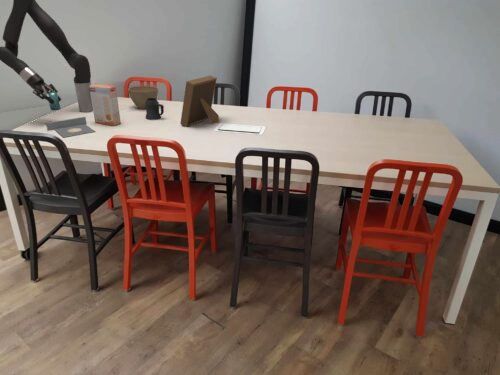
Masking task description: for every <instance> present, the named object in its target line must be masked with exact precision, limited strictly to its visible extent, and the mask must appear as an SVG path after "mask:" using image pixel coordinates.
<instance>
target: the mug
mask: <svg viewBox="0 0 500 375" xmlns="http://www.w3.org/2000/svg"><path fill="white" fill-rule="evenodd" d="M145 105H146V109H145V110H146V114H145V119H146V120H148V121H156V120H160V119H162V115H164V112H165V111H164V107H165V106H164V104H161V103H160V102H159V101H158V99H157V98H147V100H146V102H145Z"/></svg>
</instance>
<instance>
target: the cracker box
mask: <svg viewBox="0 0 500 375" xmlns="http://www.w3.org/2000/svg"><path fill="white" fill-rule="evenodd" d="M89 89H90V95H91V101H92V107H93V111H92V112H93V117H94V118H93V120H94V123H95V124H101V125H106V126H111V127H112V126H113V127H115V126H118V125H120V124H122V122H121V121H122V120H121V115H120V108H119V101H118V100H119V99H118V92H117V86H115V85H106V84H99V83H95V84H91V85H90V86H89Z"/></svg>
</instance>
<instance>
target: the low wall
mask: <svg viewBox="0 0 500 375" xmlns="http://www.w3.org/2000/svg"><path fill="white" fill-rule="evenodd" d="M83 124H86V125H87V124H88V123H87V120H86V116H82V117H80V116H79V117H74V118H68V119H63V120H55V121H49V122H45V125H46V126H45V127H46V130H47V131H55V130H54V129H59V128H65V127H71V126H77V125H83Z"/></svg>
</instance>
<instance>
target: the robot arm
mask: <svg viewBox="0 0 500 375" xmlns="http://www.w3.org/2000/svg"><path fill="white" fill-rule="evenodd" d="M27 14H28V15H29V17H30V19H31V20H32V21H33V22H34V24H35V25H36V26H37V28H38V29H39V30H40V32H41V33H42V34H43V35H44V36H45V37H46V39H47V40H48V41H49V42H50V43H51V44H52V45H53V47H55V49H56V50H57V51H58V52H59V53H60V54H61V55H62V57H63V58H64V60H65V61H66V63H67V64H68V65H69V67H70V68H71V69H73V70H74V77H73V83H74V89H75V95H76V100H77V103H78V104H77V105H78V110H79V112H81V113H90V112H93V107H92V101H91V95H90V89H89V86H90V85H92V83H91V81H92V80H91V78H92V74H91V73H92V72H91V65H90V62H89V59H88V57H87V56H85V55H83V54H79V53H78V52H77V51H76V50H75V49H74V48H73V47H72V45H71V44H70V43H69V41H68V38H67V36H66V34H65V32H64V31H63V29H62V28H61V26H59V24H58V23H57V22H56V20H55V19H53V17H52V16H51V15H50V14H48V13H47V12H46V11H45V10H44V9H43V8H42V7H41V6H40V5H39V4H38V2H37V1H36V0H13V2H12V8H11V12H10V14H9V17H8V19H7V21H6V24H5V26H4V30H3V34H2V40H3V41H4V46H0V61H1V62H2V63H3V64H5V65H6V66H8V67H9V68H11V69H12V71H14V72H15V73H16V74H17V75H18V76H19V77H20V78H21V79H22V81H24V82H25V83H26V84H27V85H28V86H30V88H31V89H32V90H33V91H32V93H33V94H34V95H36V96H37V97H38V98H40V99H41V100H47V102H48V103H49V102H50V103H51V104H54V102H55V101H54V100H53V99H52V98H51V97H49V96H48V94H47V93H48V92H57V93H58V92H59V91H58V89H56V87H55V86H54V85H53V84H52V83H50V84H47V83H46V82H45V80H44V78H43V77H42V76H40V75H39V74H38V73H37V72H36V71H35V70H34V69H33V68H31V67H30V66H29V65H28V63H26V62H25V61H24V60H22V59H20V58H19V57H18V55H19V41H20V36H21V32H22V28H23V26H24V23H25V22H24V21H25V18H26V16H27ZM58 99H59V103H60V102H62V97H60V95H58Z"/></svg>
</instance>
